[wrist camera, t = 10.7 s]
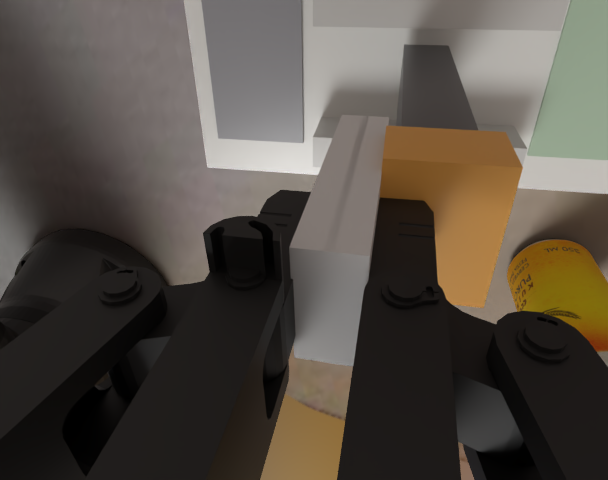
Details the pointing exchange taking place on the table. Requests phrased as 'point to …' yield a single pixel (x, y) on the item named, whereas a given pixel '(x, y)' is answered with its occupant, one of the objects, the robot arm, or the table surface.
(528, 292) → the beer can
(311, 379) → the table surface
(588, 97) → the breaker block
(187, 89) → the table surface
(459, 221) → the lever
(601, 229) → the table surface
